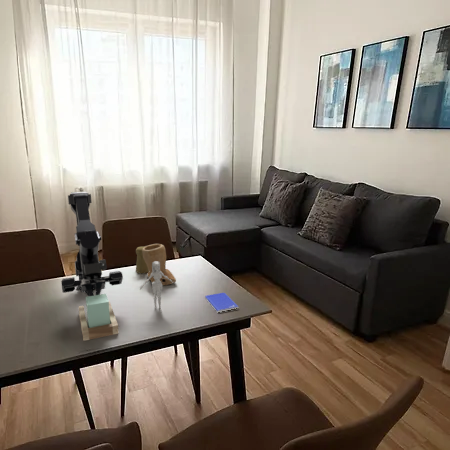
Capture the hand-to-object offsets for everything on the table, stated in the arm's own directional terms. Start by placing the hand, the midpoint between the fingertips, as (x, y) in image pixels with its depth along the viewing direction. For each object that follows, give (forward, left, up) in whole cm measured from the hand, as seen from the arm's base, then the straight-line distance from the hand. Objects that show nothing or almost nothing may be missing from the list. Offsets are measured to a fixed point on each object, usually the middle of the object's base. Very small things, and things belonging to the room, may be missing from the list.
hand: (96, 306), depth 117 cm
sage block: (+4, -4, -5) cm, 7 cm away
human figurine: (+12, +16, -6) cm, 21 cm away
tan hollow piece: (-3, +38, -6) cm, 39 cm away
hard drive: (+30, +31, -7) cm, 44 cm away
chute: (+2, -1, -6) cm, 6 cm away
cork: (-15, +43, -6) cm, 46 cm away
